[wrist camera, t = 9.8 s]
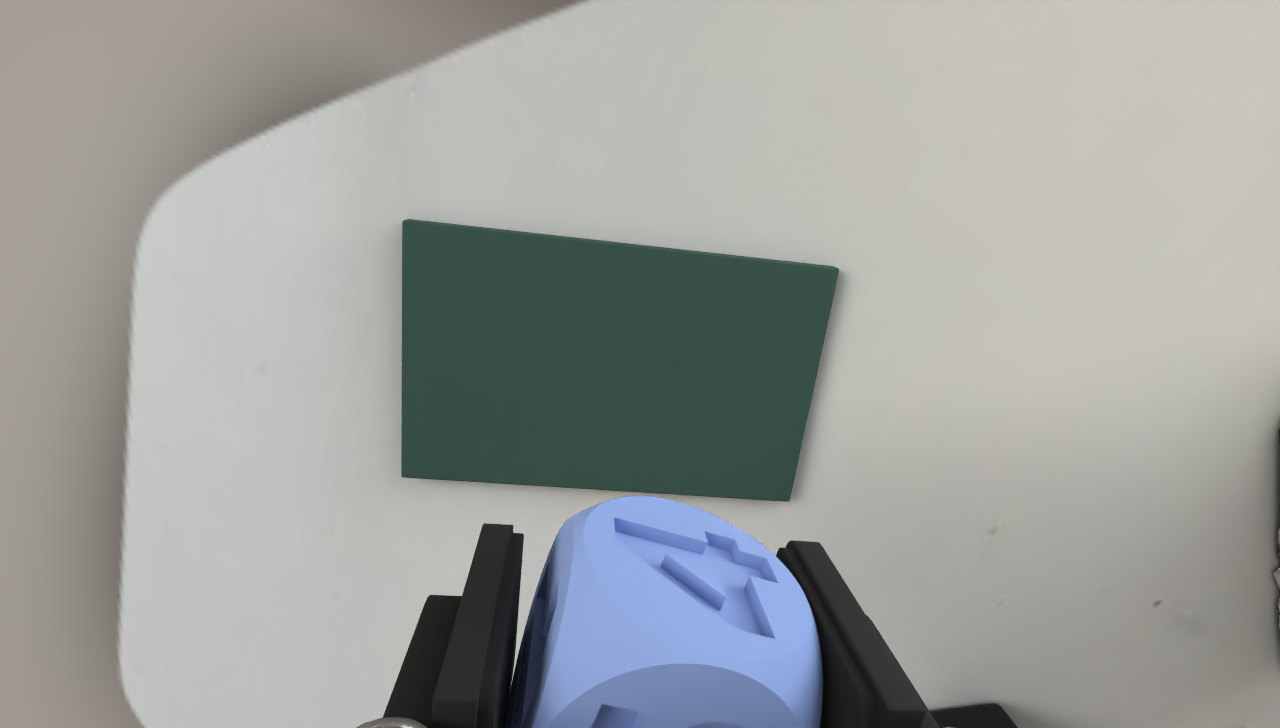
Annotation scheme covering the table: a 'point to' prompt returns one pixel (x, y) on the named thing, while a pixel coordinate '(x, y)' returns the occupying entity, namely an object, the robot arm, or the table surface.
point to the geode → (1279, 573)
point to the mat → (605, 363)
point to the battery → (974, 717)
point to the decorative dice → (665, 627)
